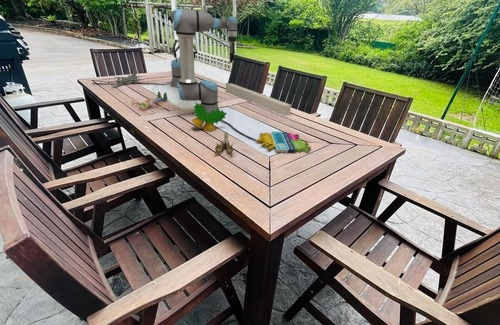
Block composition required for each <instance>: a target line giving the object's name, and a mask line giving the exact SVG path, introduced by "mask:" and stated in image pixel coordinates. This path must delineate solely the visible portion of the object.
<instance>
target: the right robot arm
mask: <svg viewBox="0 0 500 325" xmlns="http://www.w3.org/2000/svg"><path fill="white" fill-rule="evenodd" d="M213 18H214V17H213V15H212V14H211V13H209V12H207V11H205V10H201V9H188V8H175V9H174V21H172V23H173V24H172V30H173V31H174V32H175V35H176V37H178V39H174V43H173V46H172V48H171V51H170V52H171V53H172V54H173V58H174V59H176V62H177V59H178V57H177V52H178V50H179V57H180V65H181V78H180V80H179V83H177V86H178V87H177V92H178V96H179V99H180V100H181V101H185V102H190V101H193V102H194V101H198V102H199V101H200V104H201V106H204V109H206V112H208V113H211V112H212V110H214V111H216V110H217V109H219V111H221V110H220V108H219V102H218V96H219V94H218V93H219V88H218V84H217V83H216V82H215V81H213V80H207V79H202V80H200V81H199V82H198V80H197V79H196V77H195V76H196V75H195V59H196V54H198V51H197V48H196V47H195V44H194V38H195V37H196V33H204V32H207V31H210V30H211V29H213V28H212V27H213V25H214V19H213ZM177 44H178V45H177ZM176 45H177V47H176ZM208 113H207V115H208ZM222 123H225V124H227V125H228V126H229V127H230V128H231V129H233V130H234V131H235V132H237V133H238V134H240V135H242V136H243V137H246V138H248V139H250V140H252V141H254V142H256V141H257V139H256V138H254V137H252V136H249V135H246V134H245V133H243V132H241V131H239V130H238V129H237V128H235V127H234V126H233V125H231V123H229V122H227V121H225V120H223V119H222ZM262 143H263V142H260V143H259V144H262ZM270 146H272V145H270Z"/></svg>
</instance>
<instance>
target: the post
mask: <svg viewBox="0 0 500 325" xmlns="http://www.w3.org/2000/svg"><path fill="white" fill-rule="evenodd" d="M225 93H228V94H230V95H233V96H235V97H238V98H241V99H243V100H246V101H248V102H250V103H253V104H255V105H258V106H260V107H262V108H265V109H267V110H270V111H272V112H275V113H277V114H280V115H282V116H287V115H291V108H292V104H290V103H287V102H284V101H281V100H278V99H276V98H273V97H271V96H268V95H264V94H262V93H260V92H257V91H254V90H251V89H248V88H245V87H243V86H240V85H238V84H235V83H231V82H230V83H226V84H225Z"/></svg>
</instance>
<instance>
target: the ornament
mask: <svg viewBox="0 0 500 325" xmlns="http://www.w3.org/2000/svg"><path fill="white" fill-rule="evenodd" d="M219 110H220V108H219V109H217V110H216V111H214V110H212V112H211V113H208V112H206V109H204V106H201V103H198V102H195V105H194V106H193V112H194V113H195V118H192V119H191V122H192V123H193V125H195V127H197V128H198V129H202V130H203V131H206V132H212V131H213V132H214V131H215V130H216V126H215V124H218V123H219V122H222V120H223V119H226V115H227V114H228V113H227V112H224V110H223V109H221V110H220V111H219ZM207 113H208V115H207ZM214 123H215V124H214ZM222 123H223V122H222Z"/></svg>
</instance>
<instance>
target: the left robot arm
mask: <svg viewBox="0 0 500 325" xmlns="http://www.w3.org/2000/svg"><path fill="white" fill-rule="evenodd" d="M174 10H175V9H174ZM174 10H172V11H171V13H170V19H171V22H173V21H174ZM213 19H214V25H213V27H212V28H211V29H215V30H218V29H228V30H227V32H228V34H227V35H228V37H227V41H228V42H230V43H229V53H228V56H229V63H231V64H233V63H234V61H235V54H236V49H235V47H236V46H235V45H236V43H235V42H237V41H238V40H237V39H238V38H237V36H238V32H237V31H238V17H236V16H228V18H217V17H213ZM170 67H171V81H170V82H168V83H156V82H136V83H135V82H132V83H130V84H129V85H159V86H165V85H170V86H171V87H173V88H178V86H177V83H179V80H180V78H181V65H180V56H178V58H177V62H176V58H174V59H172V60H171V63H170ZM116 83H117V82H116ZM116 83H112V85H114V84H116ZM91 84H92V85H108V82H107V83H106V82H105V83H103V82H102V83H101V82H92V83H91Z"/></svg>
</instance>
